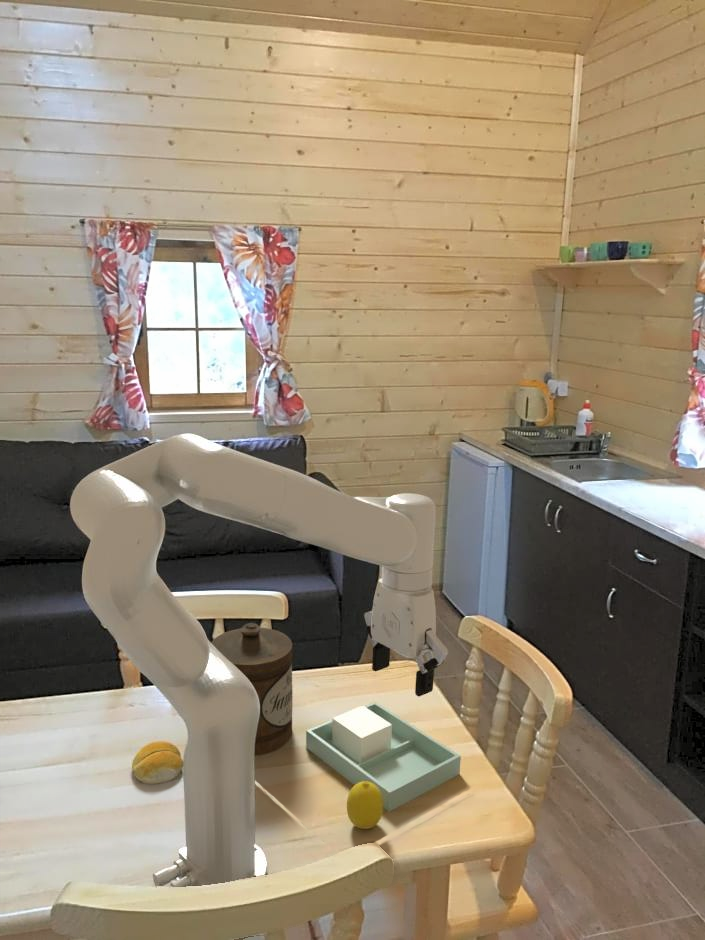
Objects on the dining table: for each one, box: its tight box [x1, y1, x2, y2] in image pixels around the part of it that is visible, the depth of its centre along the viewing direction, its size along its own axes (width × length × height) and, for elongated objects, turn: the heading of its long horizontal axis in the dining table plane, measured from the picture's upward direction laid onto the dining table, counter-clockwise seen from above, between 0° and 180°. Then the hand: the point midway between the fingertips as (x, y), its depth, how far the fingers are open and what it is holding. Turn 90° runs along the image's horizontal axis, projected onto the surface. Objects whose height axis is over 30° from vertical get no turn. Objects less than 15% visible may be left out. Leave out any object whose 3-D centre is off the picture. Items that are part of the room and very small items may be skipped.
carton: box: [331, 705, 392, 763], centre depth 142 cm, size 7×8×5 cm
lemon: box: [346, 781, 384, 830], centre depth 121 cm, size 6×6×8 cm
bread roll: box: [131, 740, 183, 785], centre depth 136 cm, size 8×9×4 cm
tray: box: [305, 701, 462, 813], centre depth 138 cm, size 16×22×4 cm
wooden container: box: [211, 622, 293, 757], centre depth 144 cm, size 15×15×22 cm
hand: (401, 680), depth 124 cm, fingers open, 9 cm apart
